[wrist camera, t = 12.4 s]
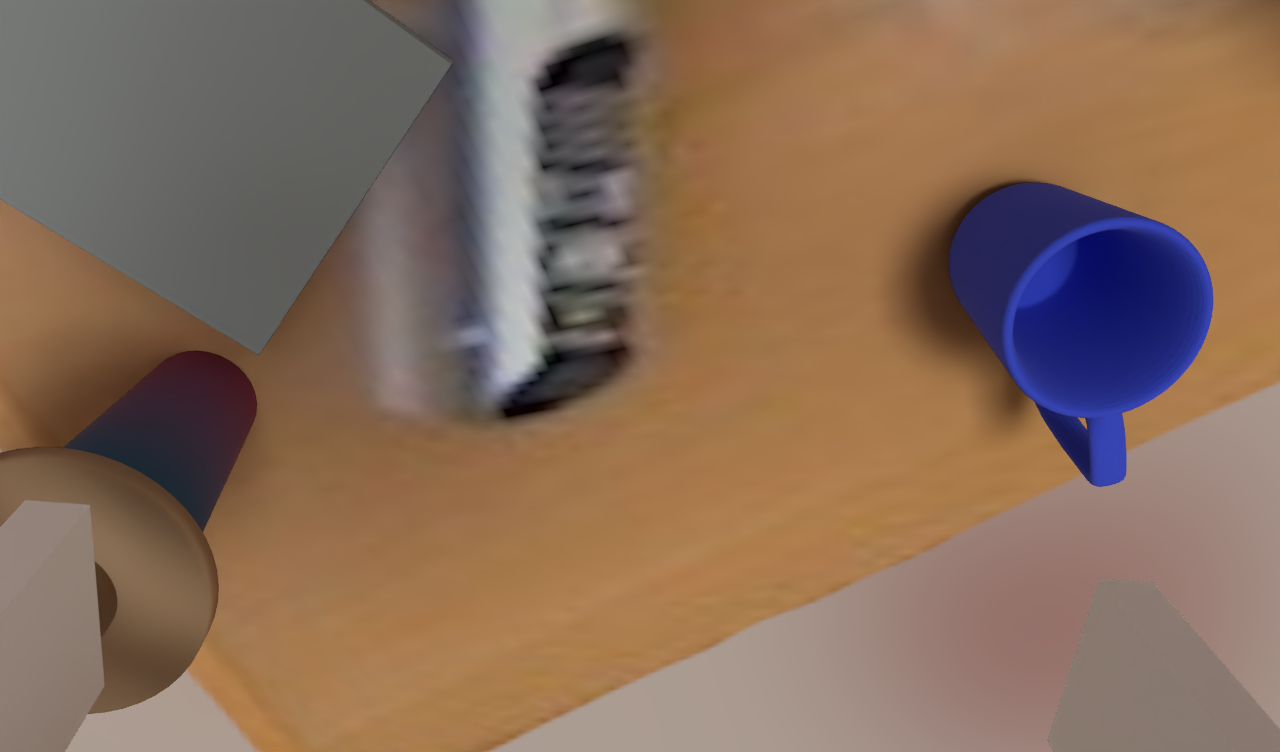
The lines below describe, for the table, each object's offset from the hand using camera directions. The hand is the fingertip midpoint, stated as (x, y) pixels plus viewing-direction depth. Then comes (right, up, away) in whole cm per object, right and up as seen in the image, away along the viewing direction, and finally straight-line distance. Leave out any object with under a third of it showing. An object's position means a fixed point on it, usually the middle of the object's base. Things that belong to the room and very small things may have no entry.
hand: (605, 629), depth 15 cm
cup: (-20, +2, +38) cm, 43 cm away
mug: (+18, +8, +38) cm, 43 cm away
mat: (-19, +15, +32) cm, 40 cm away
